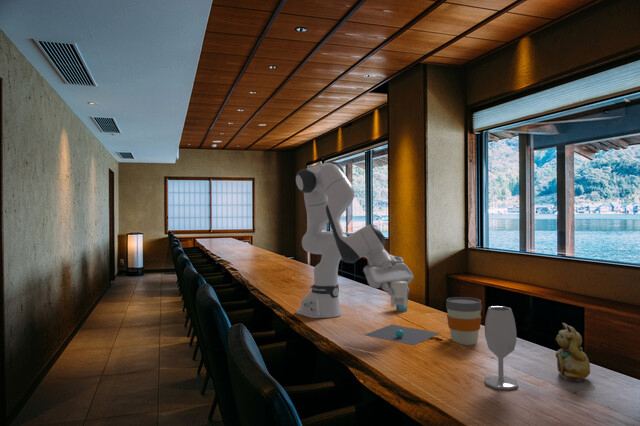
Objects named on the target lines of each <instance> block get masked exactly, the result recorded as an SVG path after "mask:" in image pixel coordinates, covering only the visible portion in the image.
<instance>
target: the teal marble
mask: <svg viewBox="0 0 640 426" xmlns="http://www.w3.org/2000/svg"><path fill="white" fill-rule="evenodd" d="M403 335H404V333H403V331H402V330H397V331H396V336H397V337H398V338H402V337H403Z"/></svg>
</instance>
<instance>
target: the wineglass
mask: <svg viewBox="0 0 640 426" xmlns="http://www.w3.org/2000/svg"><path fill="white" fill-rule="evenodd" d="M512 310H513V309H512V308H511V307H507V306H505V305H502V306H501V305H500V306H499V305H494V306H493V305H492V306H488V308H487V310H486V315H485V321H484V322H485V323H484V337H485V340H486V345H487V348H488V350H490V351H491V352H492V353H493V354H494V355H495V356H496V357H497V365H498V366H497V368H498V369H497V375H491V376H487V377H486V376H485V377H484V382H485V385H487V386H488V387H491V388H493V389H494V390H495V389H496V390H507V391H508V390H509V391H510V390H514V389H519V384H518V381H517V380H516V379H514V378H510V376H509V377H508V376H504V359H505V357H507V356H508V355H510V354H511V353H513V352H514V351H515V348H516V344H517V339H518V337H517V327H516V321H515V320H516V319H515V316H514V313H513V311H512Z"/></svg>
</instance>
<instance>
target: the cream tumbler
mask: <svg viewBox="0 0 640 426" xmlns="http://www.w3.org/2000/svg"><path fill="white" fill-rule="evenodd" d="M390 289H393V291H394V294H393V295H390V307H392V308H394V307H395V306H396V305H404V307H407V308H408V304H407V282H406V281H394V282H391V286H390Z"/></svg>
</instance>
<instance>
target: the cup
mask: <svg viewBox="0 0 640 426" xmlns="http://www.w3.org/2000/svg"><path fill="white" fill-rule="evenodd" d="M409 284H410V283H408V285H409ZM408 302H409V292H408V293H407V305H408ZM395 308H396V312H400V313H401V312H407V311H408V306H407V307H404V305H395Z"/></svg>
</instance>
